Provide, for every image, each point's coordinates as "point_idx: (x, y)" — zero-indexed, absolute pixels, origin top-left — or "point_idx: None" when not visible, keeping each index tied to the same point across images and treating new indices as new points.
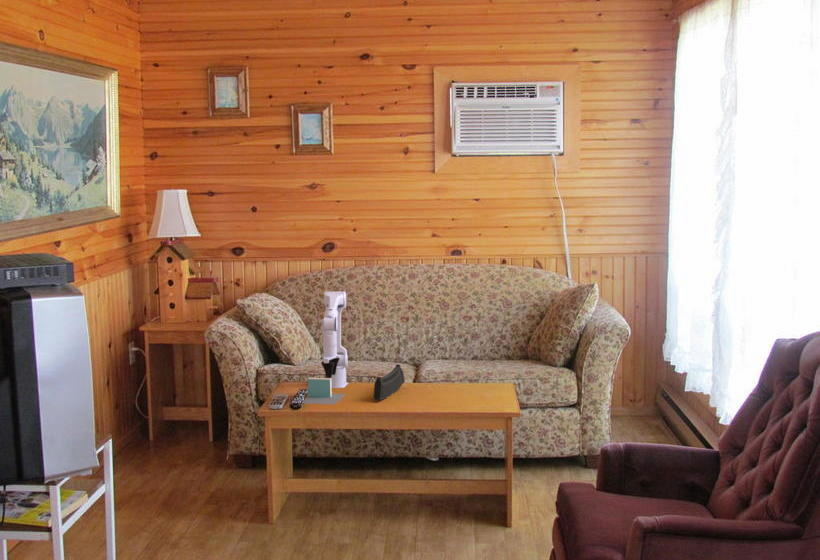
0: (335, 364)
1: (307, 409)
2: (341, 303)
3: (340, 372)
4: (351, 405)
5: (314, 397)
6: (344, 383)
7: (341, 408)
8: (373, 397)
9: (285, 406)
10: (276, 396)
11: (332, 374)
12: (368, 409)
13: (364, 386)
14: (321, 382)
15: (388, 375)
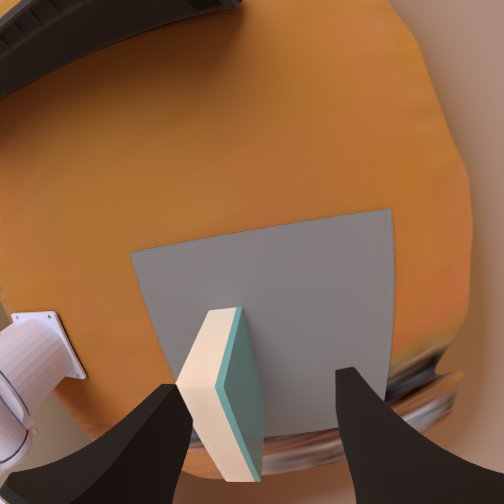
0: (117, 480)
1: (465, 309)
2: None
3: (11, 360)
4: (358, 105)
5: (267, 380)
6: (30, 321)
7: (432, 145)
8: (234, 3)
9: (418, 403)
10: (280, 472)
11: (184, 406)
12: (388, 9)
13: (4, 236)
14: (244, 417)
15: (17, 5)
